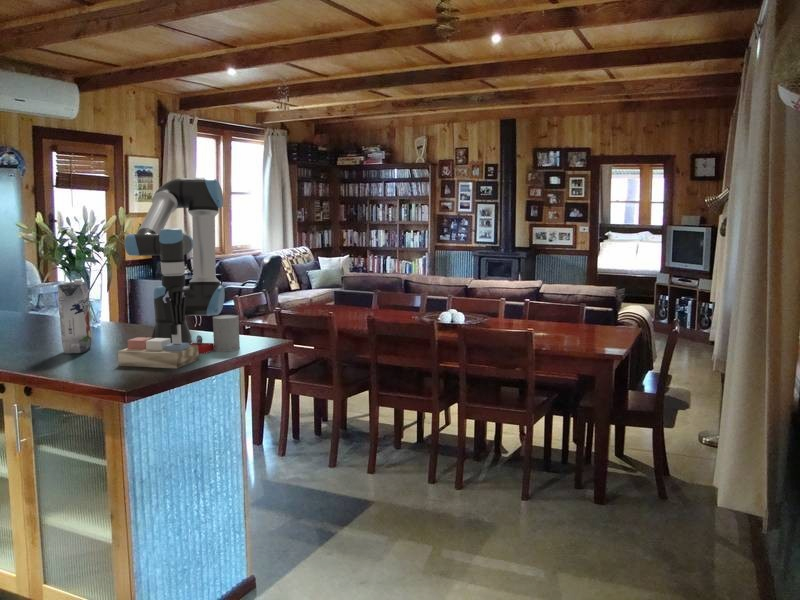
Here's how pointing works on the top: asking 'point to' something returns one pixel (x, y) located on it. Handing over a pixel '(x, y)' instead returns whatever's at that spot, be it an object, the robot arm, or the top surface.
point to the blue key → (176, 347)
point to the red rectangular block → (203, 345)
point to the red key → (137, 343)
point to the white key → (157, 343)
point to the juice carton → (74, 316)
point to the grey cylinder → (226, 333)
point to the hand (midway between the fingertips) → (176, 343)
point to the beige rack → (158, 357)
